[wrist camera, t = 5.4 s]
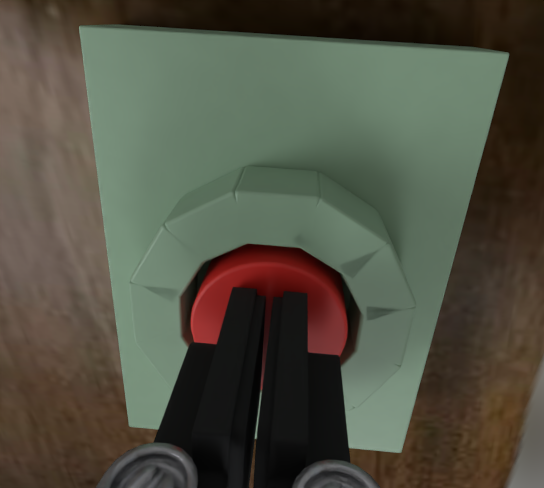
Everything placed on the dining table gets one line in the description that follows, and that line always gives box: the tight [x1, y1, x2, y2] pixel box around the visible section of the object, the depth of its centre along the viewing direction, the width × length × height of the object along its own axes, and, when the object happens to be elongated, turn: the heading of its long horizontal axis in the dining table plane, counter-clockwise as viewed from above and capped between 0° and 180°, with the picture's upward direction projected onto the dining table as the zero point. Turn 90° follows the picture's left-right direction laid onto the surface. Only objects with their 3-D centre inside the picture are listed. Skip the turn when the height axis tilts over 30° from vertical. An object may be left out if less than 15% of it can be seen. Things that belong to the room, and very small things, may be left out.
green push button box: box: [79, 25, 509, 453], centre depth 12 cm, size 12×9×4 cm
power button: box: [191, 244, 348, 389], centre depth 11 cm, size 4×4×2 cm
